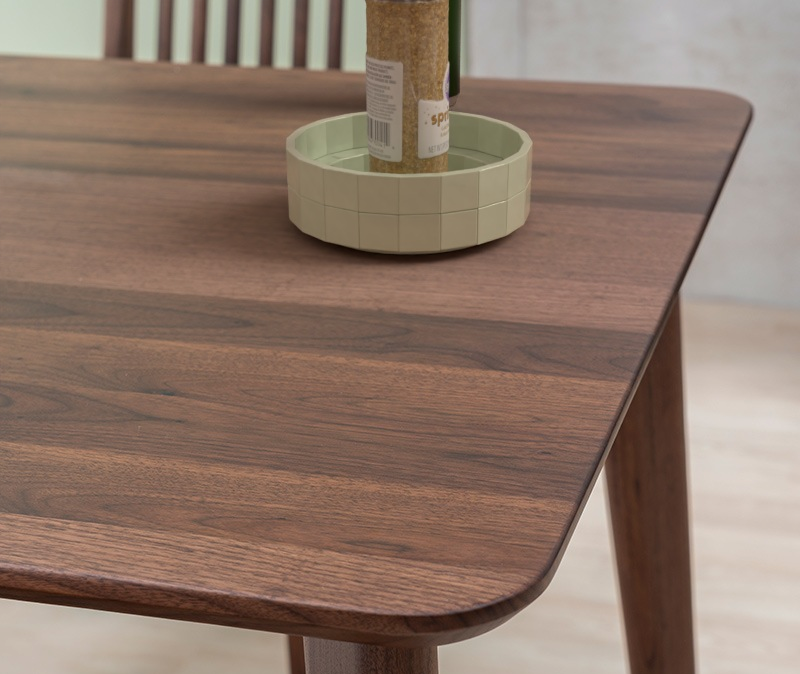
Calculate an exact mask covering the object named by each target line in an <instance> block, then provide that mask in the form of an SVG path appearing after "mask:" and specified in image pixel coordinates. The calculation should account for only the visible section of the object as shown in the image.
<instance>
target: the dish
mask: <svg viewBox="0 0 800 674" xmlns="http://www.w3.org/2000/svg"><path fill="white" fill-rule="evenodd" d="M533 144H534V143H533V141H532V139H531V137H530V136H529V134H528V132H526V131H525V130H523V129H522V128H521V127H518V126H516V125H515V124H512V123H510V122H507V121H504V120H502V119H501V120H500V119H496V118H493V117H490V116H486V115H482V114H475V113H468V112H463V111H462V112H460V111H453V110H449V149H448V153H447V154H448V172H443V173H422V174H390V173H375V172H370V166H369V161H370V159H369V152H368V139H367V111H359V112H350V113H344V114H340V115H335V116H330V117H325V118H320V119H318V120H316V121H313V122H310V123H308V124H305V125H302V126H300V127H298V128H297V129H294V131H293V132H292V133H291V134H290V135H288V136H287V137H286V138H285V158H286V181H287V198H288V199H287V201H288V203H287V204H288V218H289V221H290V222H291V223H292V224H293V225H294V226H296V227H297V229H298V230H300V232H302V233H304V234H306V235H308V236H311V237H314V238H316V239H318V240H321V241H322V242H324V243H325V242H326V243H331V244H335V245H338V246H342V247H346V248H348V249H354V250H357V251H362V252H363V251H364V252H368V253H376V254H387V255H389V254H390V255H429V254H441V253H447V252H454V251H459V250H464V249H467V248H471V247H474V246H478V245H482V244H485V243H488V242H491V241H495V240H498V239H501V238H504V237H507V236H509V235H510V234H512V233H513V232H515V231H516V230H517V229H519V228H521V227H523V226H524V225H525V224H526V221H527V219H528V216H529V215H530V213H531V192H532V169H533V148H534V147H533V146H534V145H533Z"/></svg>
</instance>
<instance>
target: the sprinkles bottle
mask: <svg viewBox="0 0 800 674" xmlns="http://www.w3.org/2000/svg"><path fill="white" fill-rule="evenodd" d="M364 2H365V6H366V7H365V22H366V25H365V26H366V33H365V34H366V35H365V36H366V42H365V44H366V52H365V92H366V97H365V99H366V112H367V139H368V152H369V159H370V161H369V166H370V172H375V173H390V174H422V173H443V172H448V154H447V153H448V149H449V111H450V106H449V61H448V12H449V7H448V5H449V0H364Z"/></svg>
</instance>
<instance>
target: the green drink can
mask: <svg viewBox="0 0 800 674" xmlns="http://www.w3.org/2000/svg"><path fill="white" fill-rule="evenodd" d="M448 7H449V12H448V61H449V107H452V106H453V105H455V104H456V102H457V100H458V98H459V96H460V94H461V51H462V50H461V49H462V45H461V43H462V41H461V40H462V0H449V5H448Z"/></svg>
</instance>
